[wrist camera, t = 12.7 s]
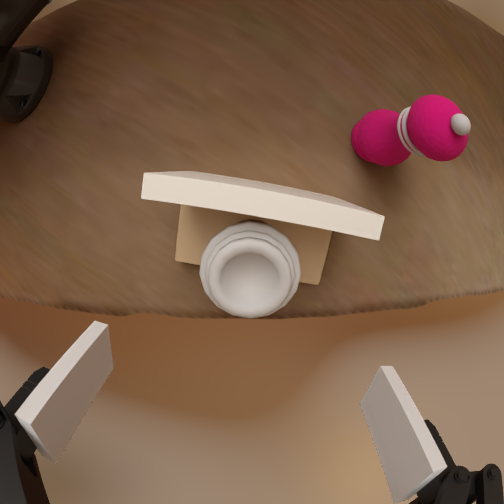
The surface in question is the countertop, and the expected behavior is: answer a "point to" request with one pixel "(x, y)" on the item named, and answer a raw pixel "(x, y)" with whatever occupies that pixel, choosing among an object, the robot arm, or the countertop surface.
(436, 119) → the pepper mill
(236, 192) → the board
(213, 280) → the coffee cup
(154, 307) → the countertop surface
